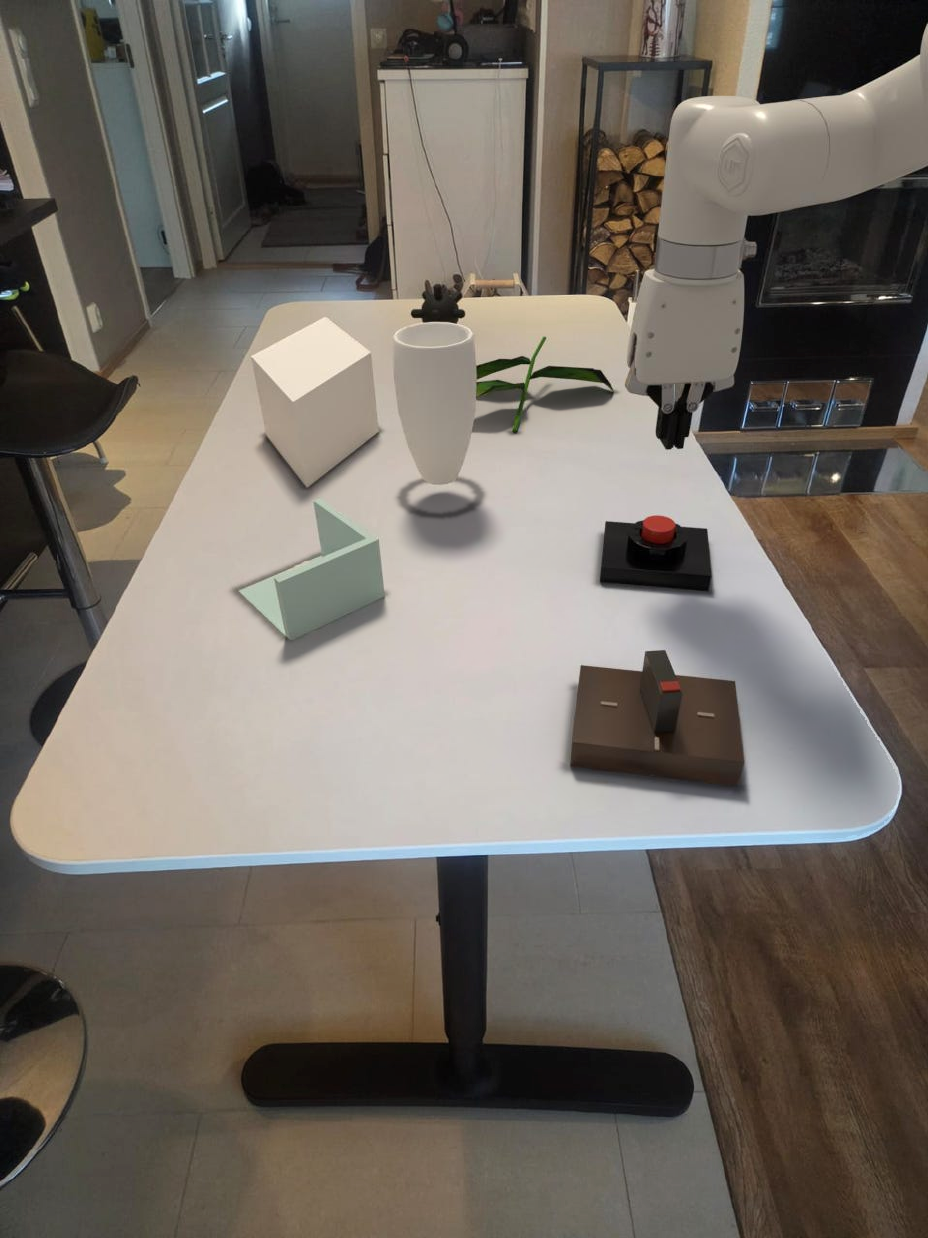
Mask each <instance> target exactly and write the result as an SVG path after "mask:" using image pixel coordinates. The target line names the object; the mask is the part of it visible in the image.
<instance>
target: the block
mask: <svg viewBox="0 0 928 1238" xmlns="http://www.w3.org/2000/svg"><path fill="white" fill-rule="evenodd" d="M250 358H251V363H252V368H253V369H252V370H253V373H254V378H255V385H256V389H257V395H258V400H259V406H260V410H261V416H262V421H263V426H264V432H265V436H266V437H267V438H268V439H269V441H270V442H271V443H272V445H273V446H274V447H275V449H276V450H277V452H279V454H280V455H281V456H282V458H283V459H284V461H285V462H286V463H287V464H288V466H289V467H290V469H292V471H293V472H294V473H295V475H296V476H297V477H298V478H299V480H300V481H301V482H302V484H303V485H304V486H305V488H309V487H310V486H311V485H313V484H314V483H315V482H316V481H318V480H319V479H320V478H322V477H323V476H325V475H326V474H327V473H328V472H330V470H332V469H334V468H335V466H337V465H338V464H339V463H341V462H342V461H344V460H345V459H346V458H347V457H348V456H351V454H352V453H354V452H355V451H356V450H357V449H359V448H360V447H361V446H363V445H364V444H365V443H366V442H368V441H369V440H370V439H371V438H373V437H374V436H375V435H376V434H378V433H379V432H380V429H379V420H378V419H379V418H378V410H377V398H376V389H375V379H374V367H373V358H372V352H371V351H370V350H369V349H367V348H366V347H365V346H364V345H362V344H361V343H360V342H359V341H357V340H356V339H355V338H353V337H352V336H351V335H349V334H348V333H347V332H346V331H344V330H343V329H342V328H341V327H340V326H338V325H336V323H334V322H333V321H331V320H330V319H329V318H328V317H326V316H324V317H321V318H320V319H318V320H317V321H313V322H312V323H310V324H309V325H306V326H305V327H303V328H301V329H299V330H298V331H296V332H293V333H292V334H290V335H288V336H286V337H284V338H282V339H281V340H279V341H277V342H275V343H273V344H272V345H269V346H268V347H265V348H264V349H262V350H260V351H258V352H256V353H254V354H253V355H251V356H250Z"/></svg>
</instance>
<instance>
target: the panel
mask: <svg viewBox="0 0 928 1238" xmlns="http://www.w3.org/2000/svg"><path fill="white" fill-rule="evenodd" d="M675 675H676V678H677V680H678V683H679V685H680V688H681V690H682V699H681V704H680V709H679V714H678V719H677V725H676V730H675V731H673V732H657V733H655V732H654V729H653V726H652V723H651V721H650V718H649V715H648V712H647V709H646V706H645V703H644V700H643V697H642V694H641V691H640V683H641V676H642V670H633V669H623V668H613V667H603V666H595V665H594V666H593V665H583V664H581V665H580V667H579V676H578V684H577V692H576V693H577V695H576V703H575V709H574V710H575V711H574V720H573V729H572V736H571V737H572V738H571V749H570V760H569V766H570V767H575V768H577V767H578V768H584V769H593V770H600V771H601V770H602V771H608V772H609V771H610V772H617V773H624V774H625V773H626V774H633V775H635V774H636V775H640V776H641V775H642V776H649V777H658V778H665V779H666V778H667V779H674V780H683V781H688V782H689V781H690V782H699V783H706V784H714V785H723V786H732V787H739V783H740V781H741V777H742V773H743V770H744V766H745V756H744V748H743V747H744V746H743V737H742V729H741V720H740V719H741V718H740V710H739V703H738V702H739V701H738V694H737V693H738V692H737V685H736V680H729V679H719V678H709V677H702V676H701V677H700V676H691V675H680V674H675Z"/></svg>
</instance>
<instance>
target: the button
mask: <svg viewBox="0 0 928 1238" xmlns="http://www.w3.org/2000/svg"><path fill="white" fill-rule="evenodd" d="M643 520H644V521H643V527H642V534H641V535H642V538H643V539H644V540H647V541H649V542H652V543H661V544H664V543H668V542H671V541H672V540H673V538H674V532H675V526H676V525H675V523H676V521H674V520H673V519H672V518H670V517H668V516H665V515H660V514H659V515H657V514H656V515H650V516H647V517H645V518H644V519H643Z"/></svg>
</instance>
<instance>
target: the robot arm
mask: <svg viewBox="0 0 928 1238" xmlns="http://www.w3.org/2000/svg"><path fill="white" fill-rule="evenodd" d="M919 52H920V54H918V55H916V56H915V57H913V58H911V59H910V60H908V61H907V62H905V63H903V64H902V65H900V66H898V67H896V68H894V69H893V70H890V71H889V72H887V73H886V74H884V75H883V74H882V75H881V76H880V77H878V78H876V79H874V80H872V81H870V82H868V83H866V84H864V85H862V86H860V87H857V88H856V89H853V90H851V91H849V92H845V93H843V94H840V95H827V96H826V95H825V96H818V97H810V98H809V97H808V98H800V99H792V100H787V101H777V102H770V103H762V104H761V103H759V101H758V100H756V99H753V98H750V97H745V96H738V95H707V96H697V97H692V98H691V97H690V98H688V99H685V100H683V101H682V102H680V103H679V104H678V105H677V107H676V108H675V110H673V113H672V116H671V120H670V125H669V133H668V142H667V151H666V158H665V159H666V161H665V169H664V178H663V185H662V195H661V203H660V213H659V223H658V230H657V238H656V248H655V257H654V266H653V268H652V269H647V270H646V271H644V274H643V277H642V279H641V283H640V286H639V289H638V294H637V297H636V302H635V307H634V311H633V315H632V321H631V327H630V333H629V338H628V345H627V353H626V363H627V367H628V368H629V371H628V374H627V376H626V379H625V382H624V388H625V389H626V391H627V392H628V393H629V394H633V395H638V396H643V397H644V396H645V397H649V399H650V400H651V401H652V402H653V403H654V404H655V405H656V406H657V407H658V409H657V417H656V422H655V423H656V424H655V425H656V426H655V436H656V439H658V440H659V441H660V442H661V445H662V446H663V447H664V449H665V450H667V451H669V450H672V449H674V448H675V449H677V450H683V449H684V445H685V440H686V438H688V437H690V434H691V433H690V431H691V426H692V420H693V414H694V413H695V412H696V411H697V410H698V409H699V407H700V404H702V403H703V402H704V401H705V400H706V399H708V397H710V396H711V394H713V393H714V392H715V393H717V392H720V391H724V390H726V389H730V388H732V387H734V384H735V373H736V370H737V368H738V363H739V358H740V352H741V347H742V339H743V330H744V329H743V328H744V315H745V275H744V273H743V272H742V271H741V269H742V264H743V260H747V259H752V258H753V259H754V258H755V256H756V254H757V249H758V248H757V247H758V246H757V243H756V242H757V241H749V240H747V239H746V237H745V234H746V228H747V222H748V217H749V216H751V217H753V216H764V215H765V216H766V215H771V214H776V213H781V212H786V211H791V210H794V209H800V208H804V207H809V206H815V205H821V204H827V203H832V202H837V201H841V200H845V199H848V198H851V197H854V196H856V195H860V194H861V193H864V192H867V191H869V190H872V189H874V188H877V187H880V186H882V185H885V184H887V183H889V182H892V181H894V180H897V179H899V178H901V177H904V176H908V175H909V174H911V173H914V172H916V171H919V170H921V169H924V168H926V167H928V23H927V24H926V26H925V29H924V32H923V35H922V40H921V44H920V51H919ZM675 385H681V389H680V391H679V396H678V398H677V400H676V401H675Z"/></svg>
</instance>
